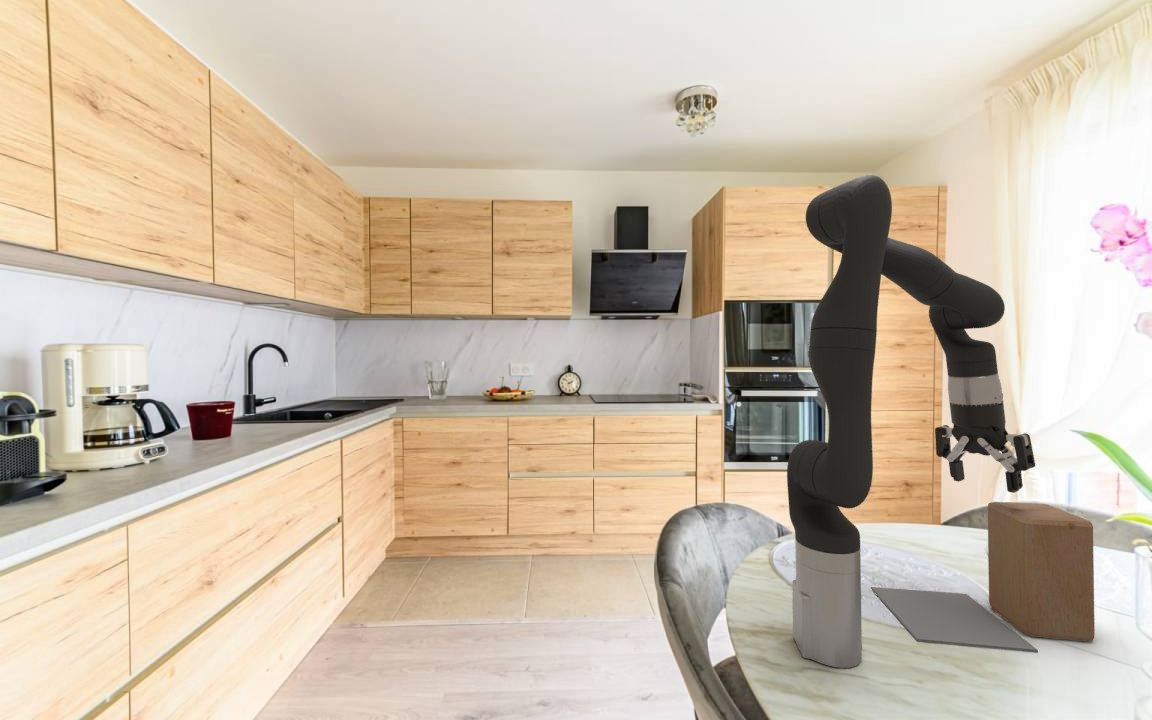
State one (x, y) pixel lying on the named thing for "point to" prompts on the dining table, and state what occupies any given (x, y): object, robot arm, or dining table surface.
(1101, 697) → the dining table surface
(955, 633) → the mat
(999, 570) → the wooden block
